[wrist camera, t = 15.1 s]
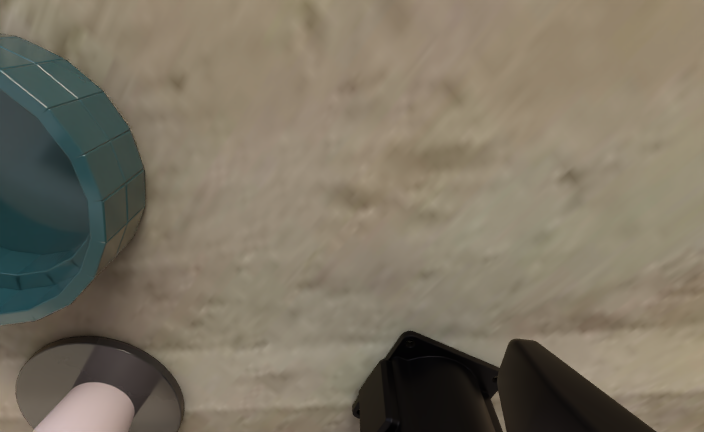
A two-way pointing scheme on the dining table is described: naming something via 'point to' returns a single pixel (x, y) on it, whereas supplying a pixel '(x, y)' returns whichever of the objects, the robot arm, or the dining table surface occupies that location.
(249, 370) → the dining table surface
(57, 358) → the coaster
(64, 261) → the teal faceted dish
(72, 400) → the smoothie
